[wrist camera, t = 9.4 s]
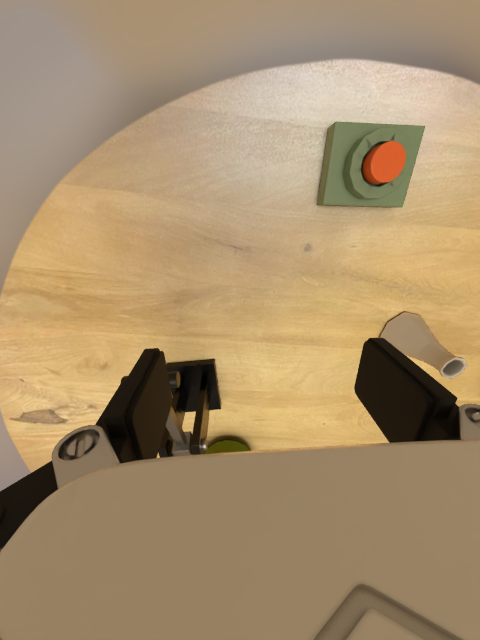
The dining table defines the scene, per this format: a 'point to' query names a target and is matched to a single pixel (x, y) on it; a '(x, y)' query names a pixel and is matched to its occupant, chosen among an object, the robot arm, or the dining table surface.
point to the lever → (176, 424)
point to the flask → (421, 344)
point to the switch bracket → (193, 401)
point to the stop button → (384, 162)
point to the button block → (347, 163)
